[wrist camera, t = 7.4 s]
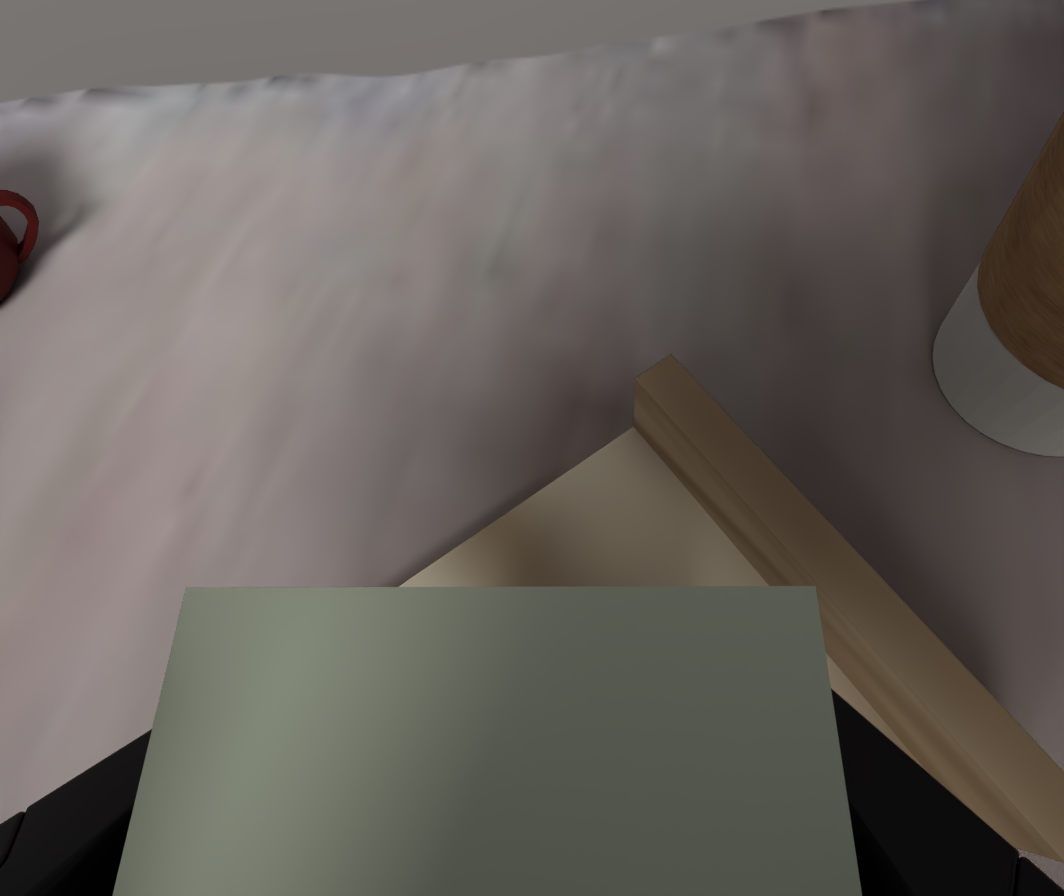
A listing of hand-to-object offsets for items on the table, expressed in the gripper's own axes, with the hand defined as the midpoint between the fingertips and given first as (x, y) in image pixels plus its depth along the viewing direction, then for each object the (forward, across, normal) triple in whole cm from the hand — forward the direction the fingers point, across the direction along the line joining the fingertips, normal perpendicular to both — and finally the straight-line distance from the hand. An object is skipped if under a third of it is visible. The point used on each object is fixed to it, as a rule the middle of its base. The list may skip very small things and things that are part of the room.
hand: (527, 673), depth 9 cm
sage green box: (+4, 0, +6) cm, 8 cm away
